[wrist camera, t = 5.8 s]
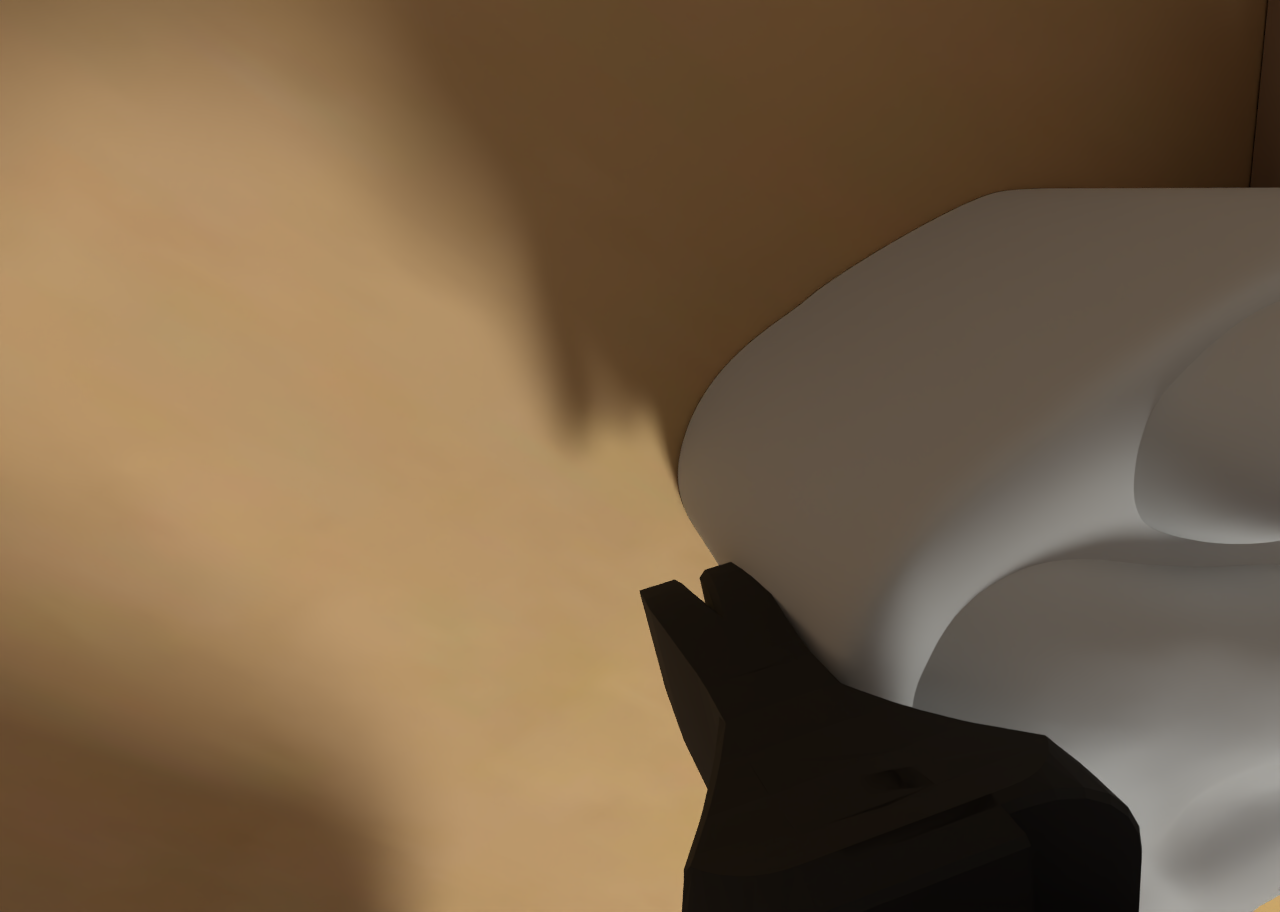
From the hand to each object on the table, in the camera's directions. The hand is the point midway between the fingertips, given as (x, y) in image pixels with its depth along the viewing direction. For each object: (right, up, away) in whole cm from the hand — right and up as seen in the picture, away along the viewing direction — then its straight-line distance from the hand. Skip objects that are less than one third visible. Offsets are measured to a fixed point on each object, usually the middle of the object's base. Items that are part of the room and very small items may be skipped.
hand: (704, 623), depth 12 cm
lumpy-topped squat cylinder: (+7, +3, +4) cm, 8 cm away
